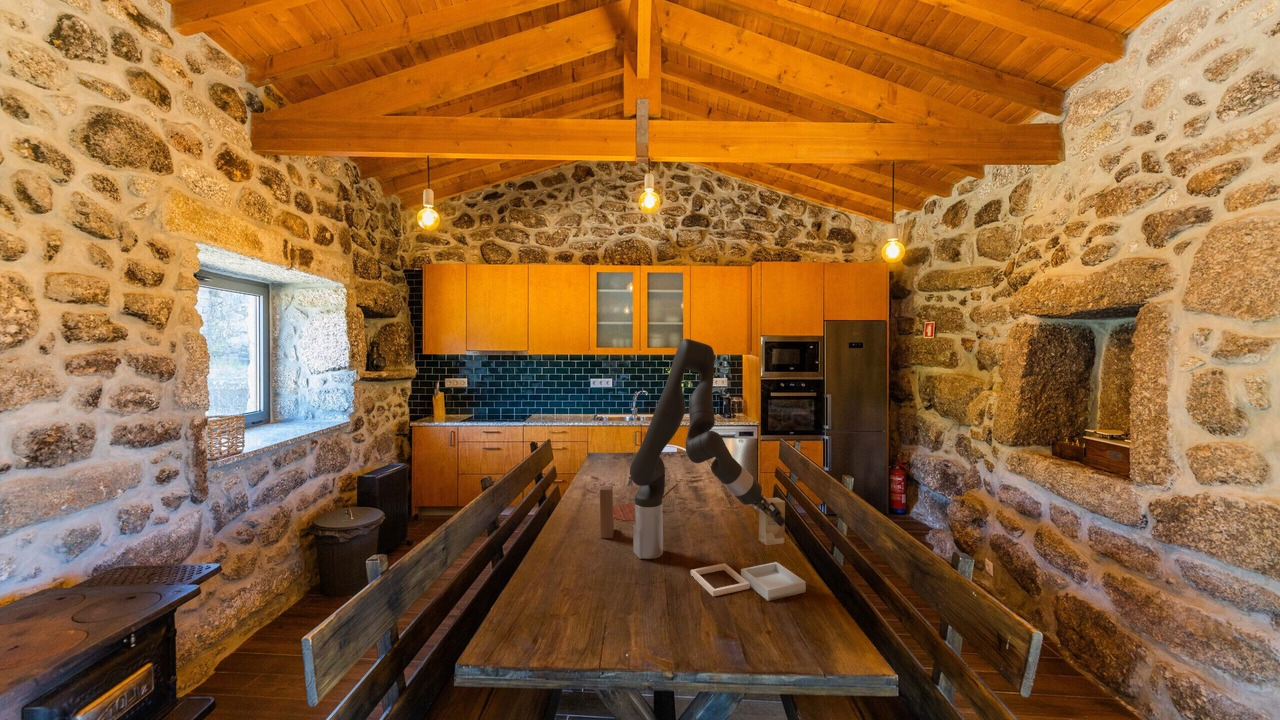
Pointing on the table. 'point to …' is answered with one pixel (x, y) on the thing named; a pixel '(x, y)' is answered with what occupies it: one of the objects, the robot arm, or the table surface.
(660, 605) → the table surface
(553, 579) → the table surface
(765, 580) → the tray
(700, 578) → the holder
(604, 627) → the table surface
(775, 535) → the skincare box
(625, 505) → the incense holder
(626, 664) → the table surface
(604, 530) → the wooden block
